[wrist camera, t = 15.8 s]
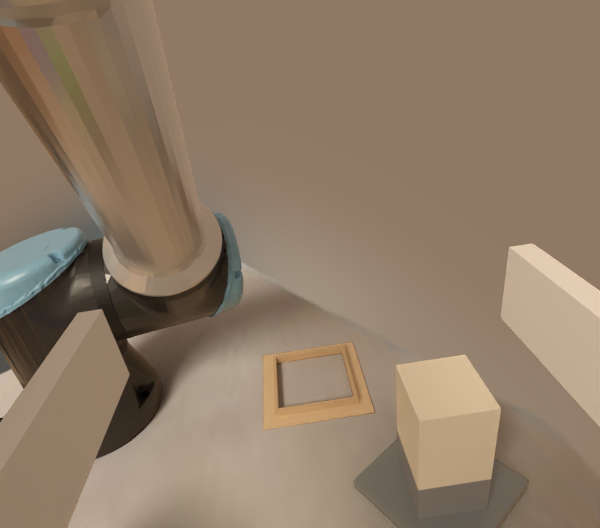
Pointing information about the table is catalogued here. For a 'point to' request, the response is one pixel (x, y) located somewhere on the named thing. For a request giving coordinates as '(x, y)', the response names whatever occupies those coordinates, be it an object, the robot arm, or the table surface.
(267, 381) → the tan square frame
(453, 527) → the slate board
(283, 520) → the table surface
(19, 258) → the robot arm
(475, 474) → the beige and grey block
